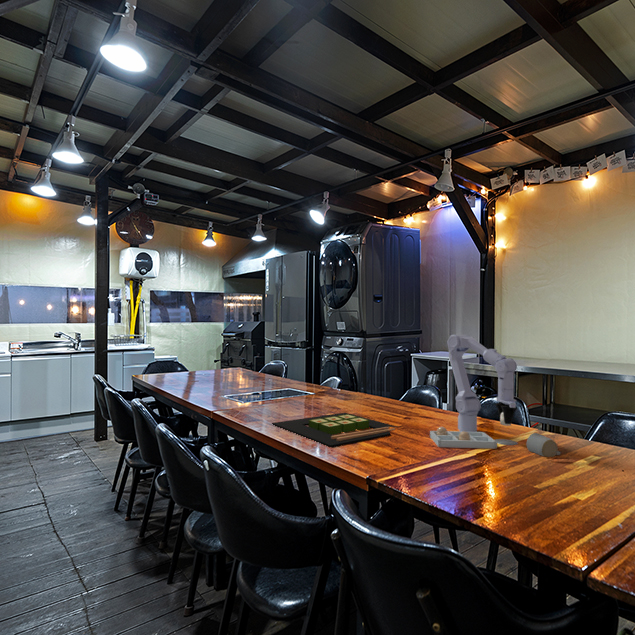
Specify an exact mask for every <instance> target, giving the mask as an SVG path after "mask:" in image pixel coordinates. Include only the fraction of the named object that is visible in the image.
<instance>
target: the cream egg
mask: <svg viewBox="0 0 635 635" xmlns="http://www.w3.org/2000/svg"><path fill="white" fill-rule="evenodd" d="M499 423H500V425H501V426H509V427H510V426H512V423H511V424H505V422H504V414H503V412H502V413H501V415H500V417H499Z"/></svg>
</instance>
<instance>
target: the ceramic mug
mask: <svg viewBox="0 0 635 635" xmlns="http://www.w3.org/2000/svg"><path fill="white" fill-rule="evenodd" d="M526 448H527V450H528V451H529V452H530V453H534V454H536V455H539V456H542V457H544V458H545V457H546V458H551V457H555V456H560V455H561V451H559V450H558V448H559V447H558V444H557V442H556V441H555V440H554V439H552V438H550V437H547V436H545V435H543V434H541V433H538V432H534V433H531V434H530V435H529V436H528V438H527V440H526Z"/></svg>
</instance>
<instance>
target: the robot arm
mask: <svg viewBox="0 0 635 635" xmlns="http://www.w3.org/2000/svg"><path fill="white" fill-rule="evenodd" d="M446 344H447V348H448V358H449V362H450V365H451V369H452V373H453V376H454V377H453V378H454V380H455V384H456V387H457V388H456V389H457V391H458V394H456V396H455V397H454V398H455V408H456V410H457V412H458V416H457V430H458V431H460V432H463V431H465V432H478V424H477V423H478V414H479V411H480V410H481V407H482V406H481V402H480V399H478V396H477V394H476V393H475V392H474V391H473V390H472V388H471V385H470V381H469V378H468V374H467V371H466V366H465V363H464V362H465V361H464V359H463V355H464V354H465V353H466V352H468V351H469V349H471V350H472V351H474V352H475V353H477V354H479V355H481V356H482V357H483V360H484V361H485V362H486V363H488V364H489V365H491V366H493V367H494V369H495V371H496V374H497V376H496V377H497V378H498V379H497V396H496V400H495V401H496V403H494V405H495V407H496V409H497V412H498V415H499V418H500V415H501V413H502V412H503V414H504V422H505V424H511V425H512V420H513V418H514V414H515V412H516V411H517V409H518V408H517V406H516V404H517V403H516V402H517V399H515V398H514V386H515V382H514V377H515V376H514V375H515V374H514V373H515V372H516V371H517V368H518V365H517V362H516V360H514V359H513V358H507V357H506V355H503V354H501V353H499V352H498V350H497V349H495V348H487V347H485V346H484V345H483V344H481V343H480V342H479V341H478V340H476V339H475V338H474V337H473V336H471V335H469V334H451V335H449V338H448V339H447V341H446ZM497 402H498V403H497Z"/></svg>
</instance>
